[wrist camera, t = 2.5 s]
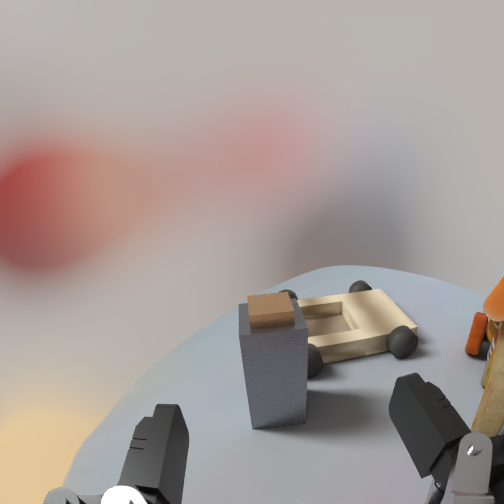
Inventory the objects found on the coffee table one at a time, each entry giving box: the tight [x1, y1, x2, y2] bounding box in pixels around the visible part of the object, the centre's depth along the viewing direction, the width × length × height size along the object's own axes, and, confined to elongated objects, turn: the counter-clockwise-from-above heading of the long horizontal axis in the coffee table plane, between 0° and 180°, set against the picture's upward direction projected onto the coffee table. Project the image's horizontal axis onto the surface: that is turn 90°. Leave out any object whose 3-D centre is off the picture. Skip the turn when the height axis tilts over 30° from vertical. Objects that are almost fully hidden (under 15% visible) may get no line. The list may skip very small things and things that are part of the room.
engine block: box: [239, 292, 308, 429], centre depth 22 cm, size 4×4×11 cm
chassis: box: [279, 281, 418, 378], centre depth 34 cm, size 16×15×3 cm
